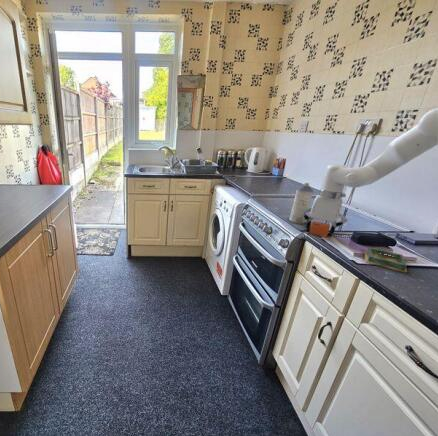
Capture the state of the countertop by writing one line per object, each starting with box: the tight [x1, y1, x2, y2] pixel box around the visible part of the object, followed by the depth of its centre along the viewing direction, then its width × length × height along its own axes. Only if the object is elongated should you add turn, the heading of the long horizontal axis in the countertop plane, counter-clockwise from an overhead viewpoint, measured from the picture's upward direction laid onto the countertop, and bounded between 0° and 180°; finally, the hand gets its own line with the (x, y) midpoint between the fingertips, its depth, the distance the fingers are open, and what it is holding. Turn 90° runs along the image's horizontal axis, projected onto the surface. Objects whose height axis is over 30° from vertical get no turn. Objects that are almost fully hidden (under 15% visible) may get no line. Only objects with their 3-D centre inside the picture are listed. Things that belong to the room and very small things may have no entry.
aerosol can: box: [288, 182, 314, 225], centre depth 120 cm, size 7×7×20 cm
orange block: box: [309, 220, 331, 238], centre depth 109 cm, size 6×6×4 cm
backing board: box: [363, 246, 408, 274], centre depth 88 cm, size 11×11×3 cm
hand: (318, 232), depth 110 cm, fingers open, 7 cm apart
